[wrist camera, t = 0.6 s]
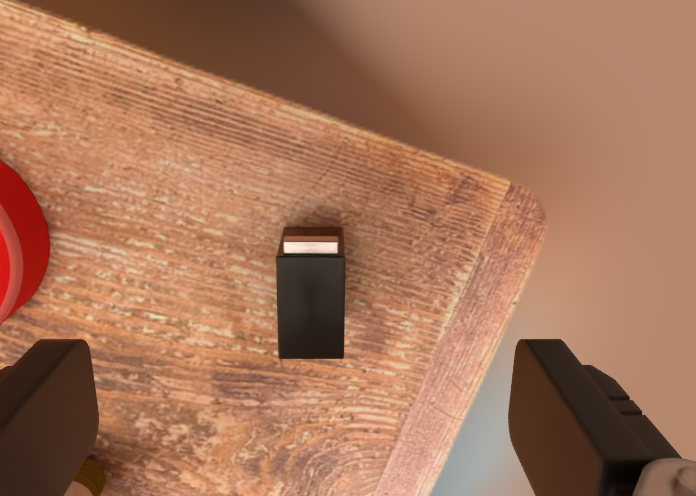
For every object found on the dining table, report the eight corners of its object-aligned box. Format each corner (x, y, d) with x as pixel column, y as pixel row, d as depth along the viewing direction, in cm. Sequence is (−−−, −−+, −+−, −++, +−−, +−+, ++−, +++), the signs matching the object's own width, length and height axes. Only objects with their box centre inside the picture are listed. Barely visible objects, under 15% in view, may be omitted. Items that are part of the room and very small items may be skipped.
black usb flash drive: (283, 215, 30) (275, 243, 26) (343, 215, 30) (345, 243, 26) (285, 317, 32) (278, 359, 28) (342, 317, 32) (343, 359, 28)
